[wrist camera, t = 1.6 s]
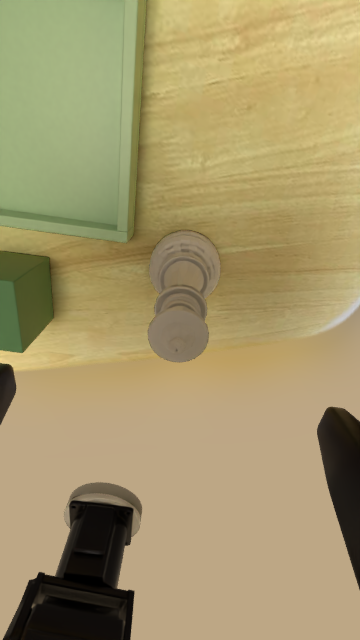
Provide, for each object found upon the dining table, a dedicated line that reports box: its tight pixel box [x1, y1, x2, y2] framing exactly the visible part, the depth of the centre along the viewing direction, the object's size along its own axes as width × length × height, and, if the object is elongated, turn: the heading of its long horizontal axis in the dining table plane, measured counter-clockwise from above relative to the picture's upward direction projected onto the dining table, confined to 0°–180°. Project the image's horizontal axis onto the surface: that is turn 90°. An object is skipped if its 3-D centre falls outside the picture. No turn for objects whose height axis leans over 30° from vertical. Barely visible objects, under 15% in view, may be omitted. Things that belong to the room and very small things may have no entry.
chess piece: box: [148, 230, 221, 362], centre depth 15 cm, size 4×4×10 cm
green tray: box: [0, 0, 147, 243], centre depth 16 cm, size 11×11×2 cm
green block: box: [0, 251, 53, 353], centre depth 19 cm, size 4×4×4 cm
